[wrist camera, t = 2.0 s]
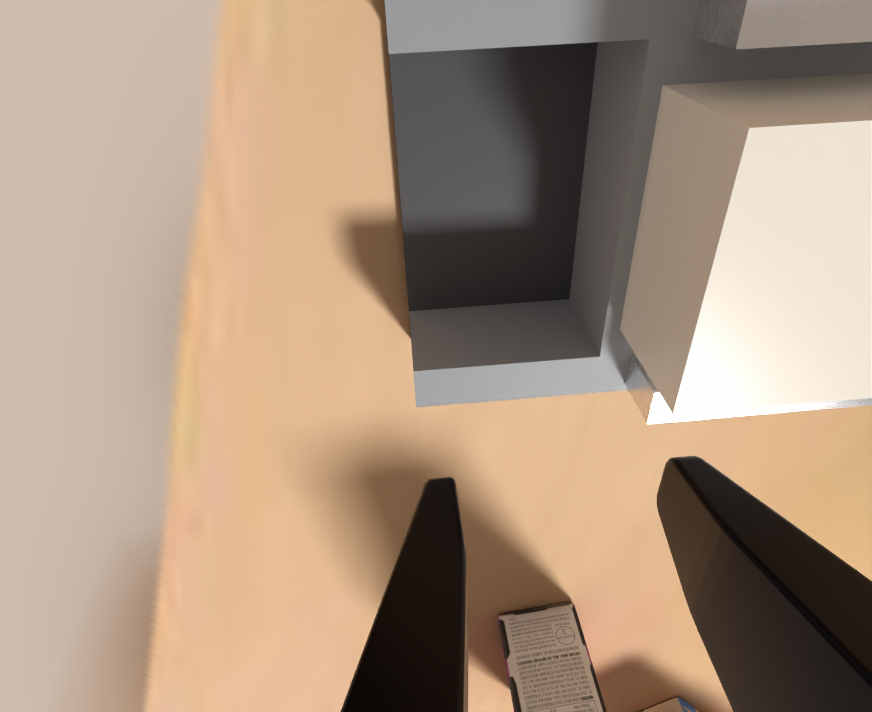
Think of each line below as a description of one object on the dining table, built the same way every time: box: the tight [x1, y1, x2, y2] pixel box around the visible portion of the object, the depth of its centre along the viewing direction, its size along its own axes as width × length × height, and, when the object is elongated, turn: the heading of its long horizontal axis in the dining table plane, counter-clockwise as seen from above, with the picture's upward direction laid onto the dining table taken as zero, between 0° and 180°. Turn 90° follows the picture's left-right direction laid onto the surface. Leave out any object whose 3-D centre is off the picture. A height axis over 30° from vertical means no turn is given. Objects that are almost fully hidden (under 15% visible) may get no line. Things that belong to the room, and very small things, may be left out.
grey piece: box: [384, 0, 872, 407], centre depth 18 cm, size 22×12×4 cm, turn 92°
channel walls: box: [625, 0, 872, 424], centre depth 15 cm, size 10×11×2 cm
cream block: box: [620, 73, 872, 414], centre depth 14 cm, size 7×7×4 cm
